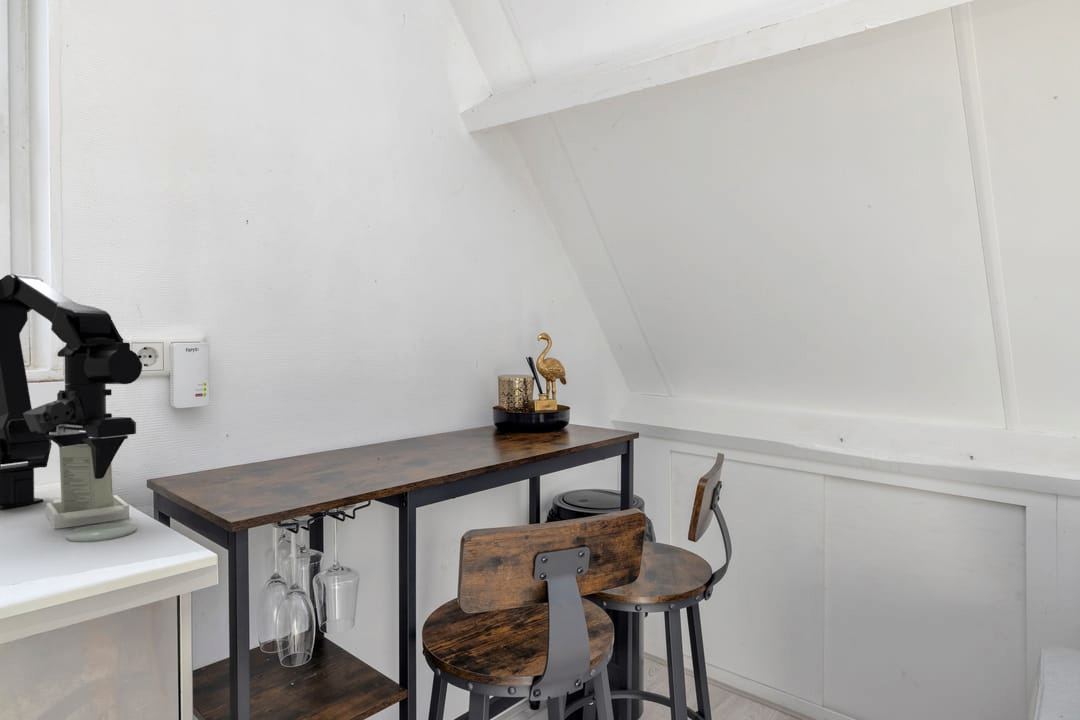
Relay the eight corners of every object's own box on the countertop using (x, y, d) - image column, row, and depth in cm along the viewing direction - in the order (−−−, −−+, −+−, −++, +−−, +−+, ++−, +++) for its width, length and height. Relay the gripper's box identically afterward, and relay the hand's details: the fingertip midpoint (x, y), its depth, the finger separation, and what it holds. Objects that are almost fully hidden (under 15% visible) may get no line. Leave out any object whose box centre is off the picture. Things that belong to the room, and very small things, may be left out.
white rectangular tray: (44, 513, 118) (44, 500, 118) (113, 504, 125) (113, 492, 125) (56, 532, 105) (56, 518, 105) (132, 521, 111) (132, 508, 111)
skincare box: (114, 514, 116) (113, 443, 116) (95, 520, 112) (94, 446, 112) (79, 514, 117) (78, 443, 117) (59, 520, 113) (58, 446, 113)
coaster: (62, 533, 104) (62, 529, 104) (130, 523, 110) (130, 519, 110) (70, 545, 97) (70, 541, 97) (141, 534, 103) (141, 530, 103)
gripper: (0, 385, 112) (1, 480, 112) (64, 386, 103) (66, 490, 103) (73, 382, 122) (74, 470, 122) (137, 383, 113) (138, 478, 113)
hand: (86, 476), depth 115 cm, fingers closed on skincare box, 7 cm apart
